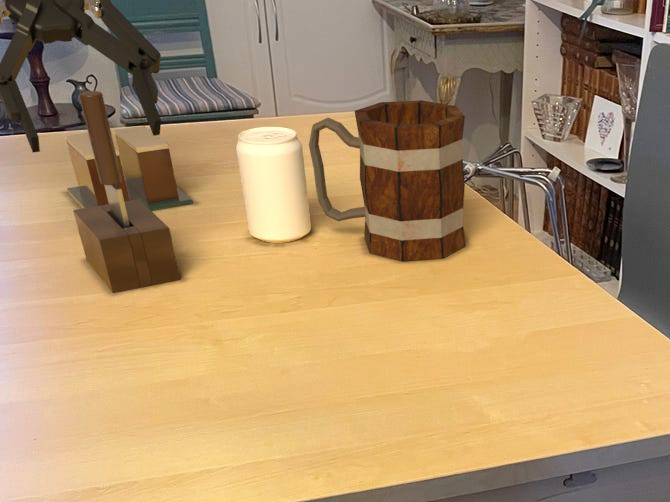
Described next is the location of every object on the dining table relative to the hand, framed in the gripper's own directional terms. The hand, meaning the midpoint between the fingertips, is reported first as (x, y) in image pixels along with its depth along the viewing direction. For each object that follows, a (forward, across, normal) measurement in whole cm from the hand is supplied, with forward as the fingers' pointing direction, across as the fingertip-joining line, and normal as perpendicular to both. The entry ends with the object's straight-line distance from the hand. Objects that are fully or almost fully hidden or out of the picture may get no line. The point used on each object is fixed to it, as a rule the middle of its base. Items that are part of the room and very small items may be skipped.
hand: (98, 136), depth 106 cm
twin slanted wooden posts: (-8, -8, -28) cm, 30 cm away
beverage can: (+10, -20, -11) cm, 25 cm away
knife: (+12, 0, -9) cm, 14 cm away
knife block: (+12, 0, -9) cm, 14 cm away
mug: (+17, -32, -4) cm, 36 cm away
